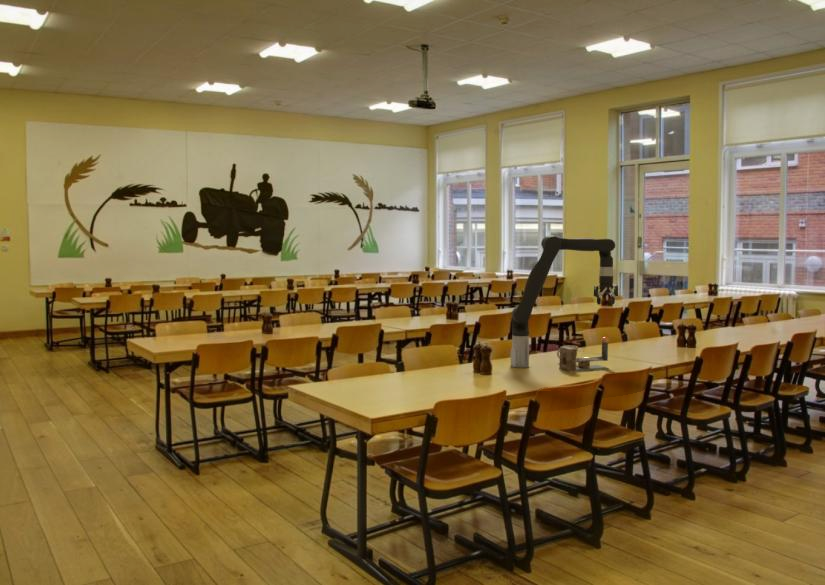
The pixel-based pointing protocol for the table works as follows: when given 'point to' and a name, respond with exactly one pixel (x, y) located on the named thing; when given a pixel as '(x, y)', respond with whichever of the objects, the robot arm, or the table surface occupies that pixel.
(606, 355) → the hook rod
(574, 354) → the grey upright block
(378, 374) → the table surface
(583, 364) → the saddle
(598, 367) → the mat
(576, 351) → the mug
